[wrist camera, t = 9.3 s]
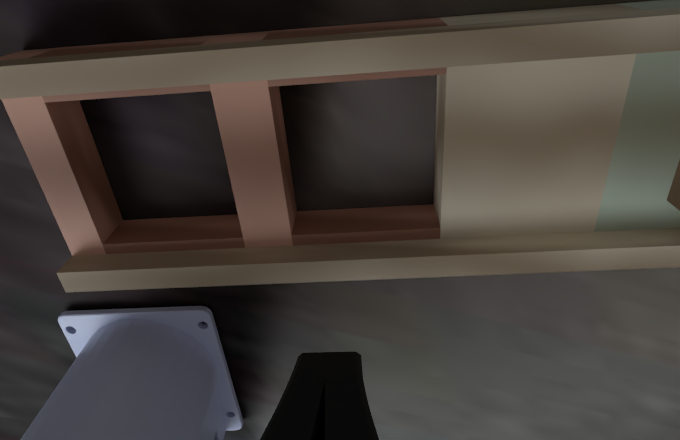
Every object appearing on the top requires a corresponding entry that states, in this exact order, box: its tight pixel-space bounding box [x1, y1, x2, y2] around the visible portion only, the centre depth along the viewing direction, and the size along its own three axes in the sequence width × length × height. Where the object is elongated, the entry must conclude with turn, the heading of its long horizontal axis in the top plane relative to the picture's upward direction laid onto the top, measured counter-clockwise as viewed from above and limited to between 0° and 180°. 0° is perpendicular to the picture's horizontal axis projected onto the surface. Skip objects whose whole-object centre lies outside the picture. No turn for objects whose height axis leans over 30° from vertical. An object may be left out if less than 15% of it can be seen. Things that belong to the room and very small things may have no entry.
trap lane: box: [0, 0, 680, 292], centre depth 17 cm, size 9×30×4 cm, turn 94°
